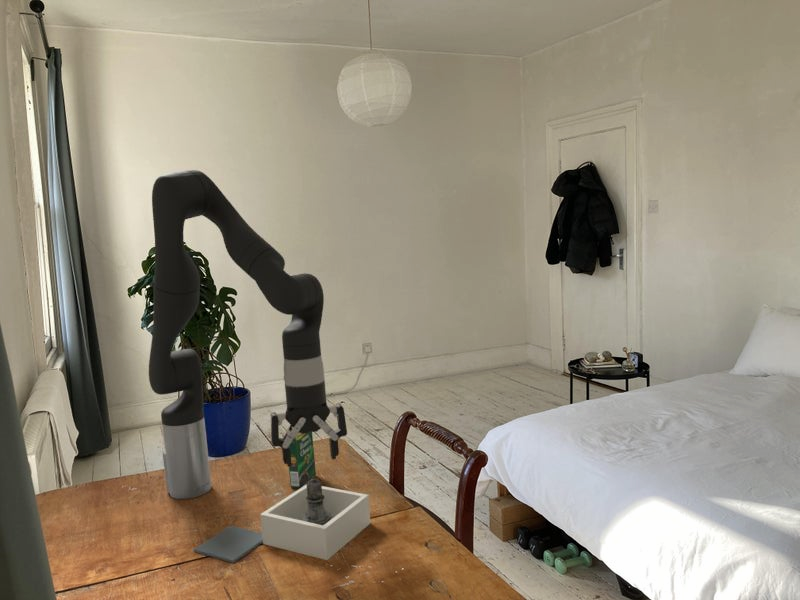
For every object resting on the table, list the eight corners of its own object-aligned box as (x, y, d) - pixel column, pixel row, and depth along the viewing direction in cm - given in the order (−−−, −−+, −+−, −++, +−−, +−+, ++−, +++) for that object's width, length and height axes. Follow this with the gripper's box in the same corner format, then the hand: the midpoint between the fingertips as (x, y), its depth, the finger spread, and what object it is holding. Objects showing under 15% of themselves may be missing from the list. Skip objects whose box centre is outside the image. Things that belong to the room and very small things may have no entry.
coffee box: (300, 489, 148) (295, 434, 146) (289, 488, 149) (284, 433, 147) (317, 475, 155) (312, 422, 153) (306, 474, 156) (302, 422, 154)
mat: (194, 551, 123) (193, 549, 122) (231, 527, 131) (231, 525, 131) (233, 562, 118) (233, 560, 118) (269, 537, 126) (269, 534, 126)
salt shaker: (327, 541, 123) (322, 482, 122) (298, 540, 125) (293, 481, 123) (336, 526, 129) (332, 469, 127) (308, 525, 130) (304, 468, 129)
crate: (263, 543, 124) (260, 514, 123) (310, 510, 137) (307, 483, 136) (327, 560, 117) (324, 529, 116) (370, 523, 130) (368, 494, 129)
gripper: (268, 389, 117) (276, 475, 119) (345, 379, 121) (351, 462, 123) (265, 380, 124) (272, 461, 126) (338, 370, 128) (344, 449, 130)
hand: (311, 461), depth 125 cm, fingers open, 8 cm apart
